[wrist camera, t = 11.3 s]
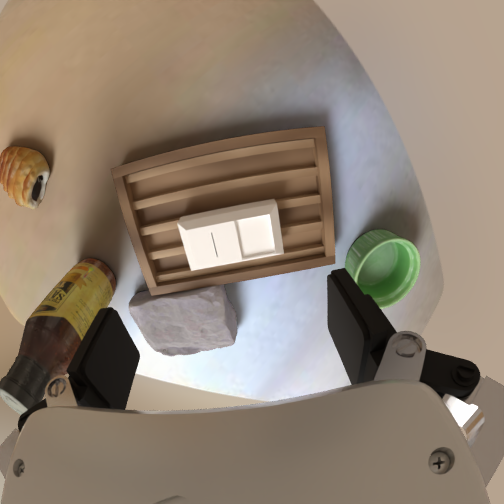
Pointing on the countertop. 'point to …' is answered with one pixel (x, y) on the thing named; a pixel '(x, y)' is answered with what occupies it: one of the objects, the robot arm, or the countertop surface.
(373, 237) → the ramekin
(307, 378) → the countertop surface
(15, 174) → the pastry
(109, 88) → the countertop surface
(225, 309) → the stone block
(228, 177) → the drying rack
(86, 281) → the sauce bottle
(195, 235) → the soap bar
